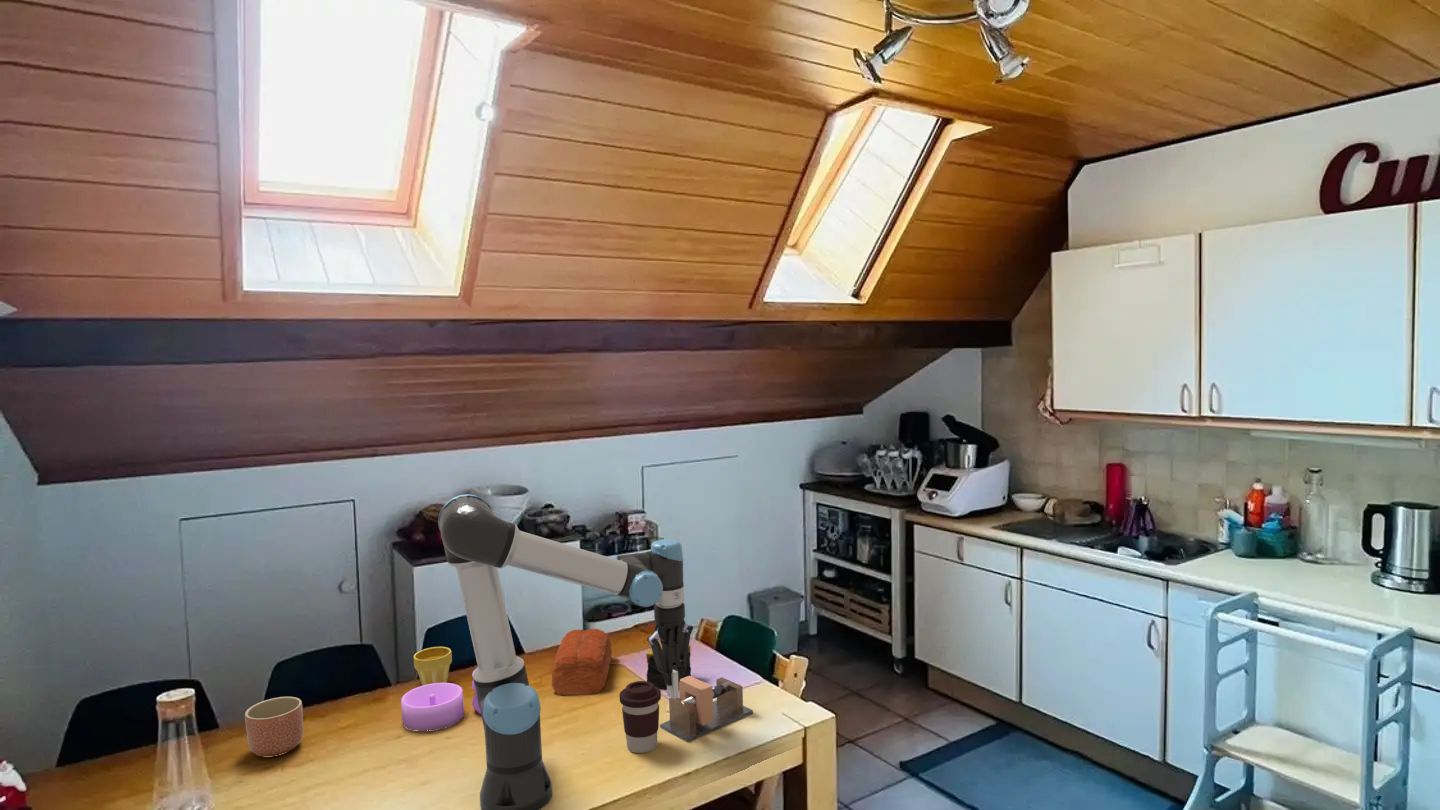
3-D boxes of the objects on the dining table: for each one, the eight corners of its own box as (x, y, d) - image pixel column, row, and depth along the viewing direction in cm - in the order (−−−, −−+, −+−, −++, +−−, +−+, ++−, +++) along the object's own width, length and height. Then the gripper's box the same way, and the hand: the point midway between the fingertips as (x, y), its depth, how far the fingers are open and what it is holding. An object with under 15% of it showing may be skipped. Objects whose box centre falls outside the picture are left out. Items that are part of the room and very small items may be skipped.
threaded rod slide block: (687, 742, 202) (686, 711, 201) (660, 727, 210) (659, 697, 209) (752, 712, 217) (752, 683, 216) (724, 699, 225) (723, 671, 224)
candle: (646, 688, 234) (644, 653, 233) (659, 673, 243) (657, 640, 242) (680, 691, 231) (679, 657, 230) (691, 677, 240) (690, 643, 239)
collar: (702, 725, 206) (701, 690, 205) (679, 713, 213) (678, 679, 212) (713, 720, 209) (712, 686, 208) (690, 709, 215) (689, 675, 214)
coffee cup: (656, 758, 195) (654, 696, 194) (616, 755, 197) (613, 694, 196) (667, 737, 205) (665, 679, 203) (628, 735, 207) (626, 676, 205)
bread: (613, 657, 257) (611, 623, 256) (606, 694, 231) (604, 657, 230) (562, 659, 257) (561, 626, 256) (549, 697, 230) (547, 660, 229)
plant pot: (413, 682, 242) (411, 650, 241) (450, 675, 246) (449, 643, 245) (417, 696, 232) (415, 662, 231) (455, 689, 237) (453, 655, 236)
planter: (315, 744, 206) (312, 702, 205) (267, 768, 195) (263, 723, 194) (286, 733, 212) (282, 692, 211) (237, 755, 202) (233, 712, 201)
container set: (400, 736, 209) (397, 685, 208) (404, 710, 224) (401, 663, 223) (502, 720, 217) (500, 671, 215) (500, 696, 231) (498, 650, 230)
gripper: (657, 613, 196) (661, 709, 198) (699, 600, 205) (702, 692, 207) (638, 606, 201) (642, 700, 204) (680, 593, 210) (683, 683, 212)
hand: (673, 696), depth 205 cm, fingers closed
